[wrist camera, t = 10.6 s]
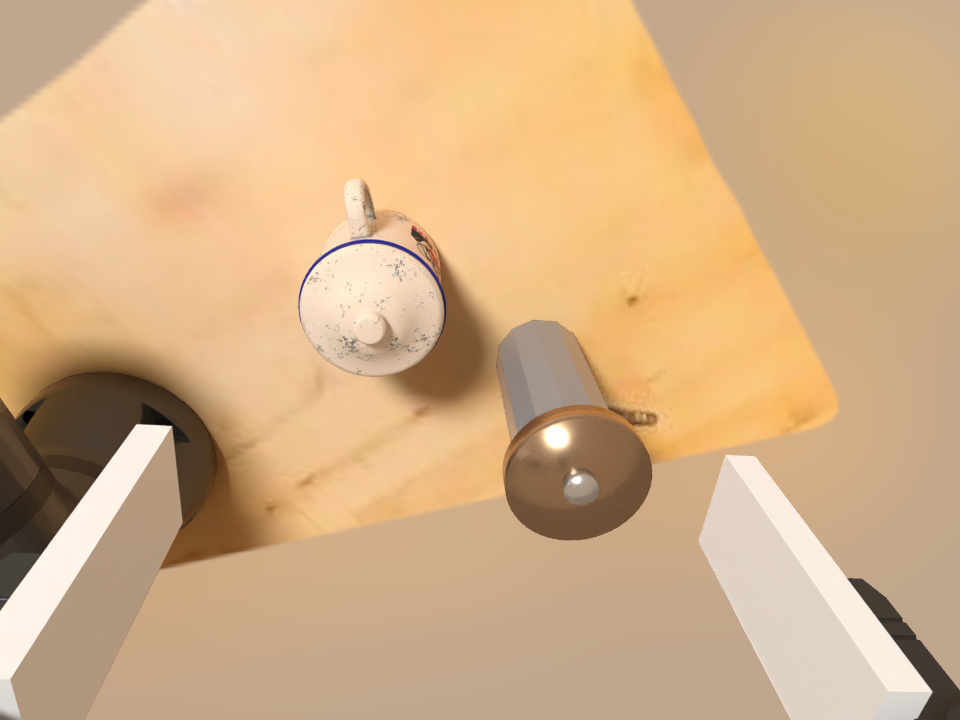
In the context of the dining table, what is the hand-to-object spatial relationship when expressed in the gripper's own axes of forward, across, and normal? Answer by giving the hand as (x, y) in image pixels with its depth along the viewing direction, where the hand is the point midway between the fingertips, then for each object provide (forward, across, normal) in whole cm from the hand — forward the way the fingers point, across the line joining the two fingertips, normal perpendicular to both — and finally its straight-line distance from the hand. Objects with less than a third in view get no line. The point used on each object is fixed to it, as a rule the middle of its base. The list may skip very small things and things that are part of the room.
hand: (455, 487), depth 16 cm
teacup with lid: (+35, -4, -5) cm, 35 cm away
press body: (+35, +9, -14) cm, 39 cm away
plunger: (+32, +9, -13) cm, 36 cm away
